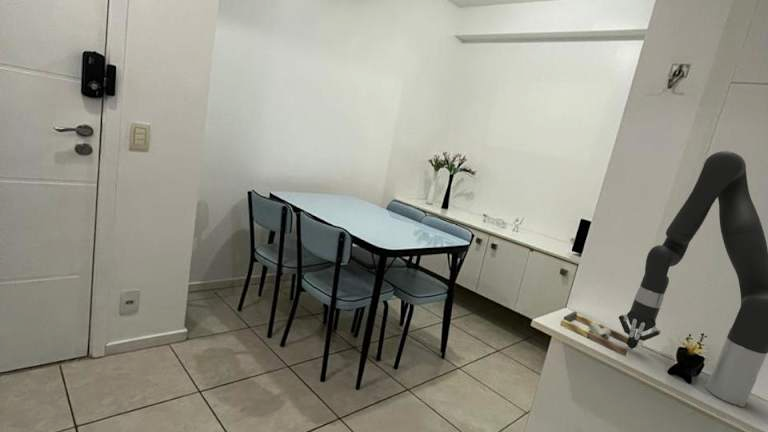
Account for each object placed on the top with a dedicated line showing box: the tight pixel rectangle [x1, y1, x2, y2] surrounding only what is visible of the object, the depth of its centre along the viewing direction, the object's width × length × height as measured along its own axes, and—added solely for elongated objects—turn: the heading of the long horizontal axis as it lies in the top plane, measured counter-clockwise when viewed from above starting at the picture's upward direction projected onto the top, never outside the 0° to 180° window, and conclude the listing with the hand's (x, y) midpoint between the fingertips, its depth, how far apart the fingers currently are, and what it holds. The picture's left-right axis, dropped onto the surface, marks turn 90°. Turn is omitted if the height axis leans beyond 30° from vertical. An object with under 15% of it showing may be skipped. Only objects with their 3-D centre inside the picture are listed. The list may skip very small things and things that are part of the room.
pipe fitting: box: [588, 322, 611, 340], centre depth 144 cm, size 8×4×7 cm
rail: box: [560, 311, 629, 357], centre depth 145 cm, size 22×14×3 cm, turn 44°
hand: (630, 347), depth 138 cm, fingers closed
